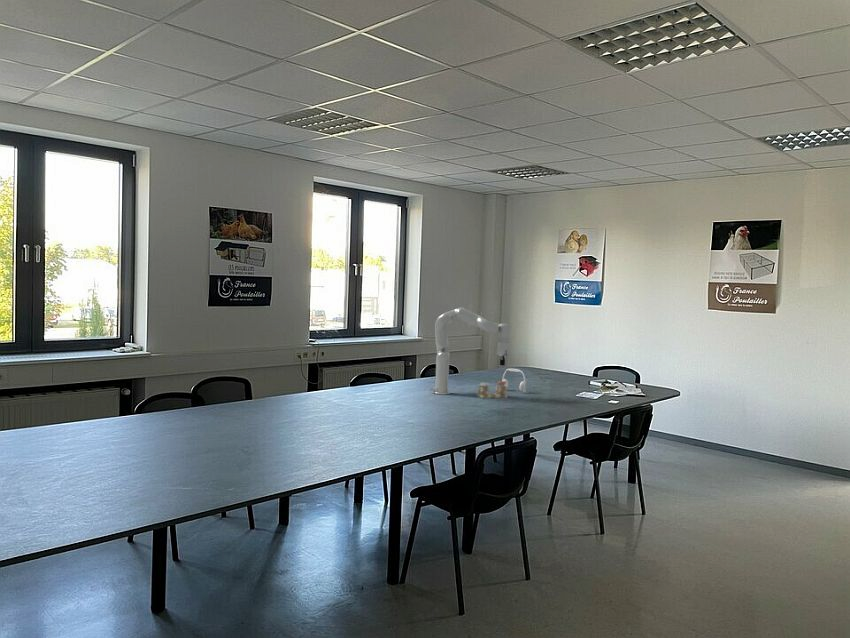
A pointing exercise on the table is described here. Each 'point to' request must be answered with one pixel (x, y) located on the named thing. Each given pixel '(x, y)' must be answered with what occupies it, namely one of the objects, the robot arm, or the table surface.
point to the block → (484, 393)
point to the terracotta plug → (501, 383)
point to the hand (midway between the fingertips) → (502, 365)
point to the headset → (522, 384)
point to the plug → (483, 384)
